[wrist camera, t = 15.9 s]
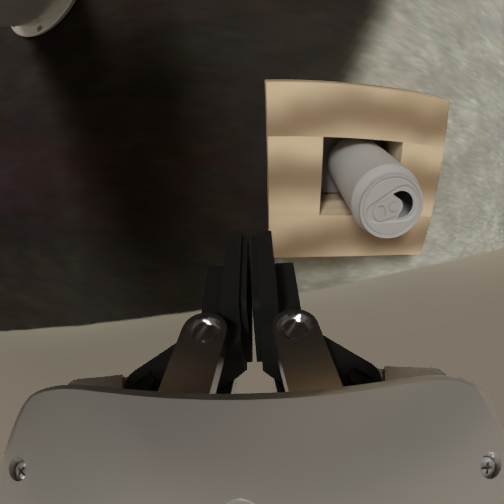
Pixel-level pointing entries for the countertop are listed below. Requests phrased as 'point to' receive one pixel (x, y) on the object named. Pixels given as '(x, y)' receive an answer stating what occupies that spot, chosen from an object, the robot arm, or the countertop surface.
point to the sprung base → (326, 180)
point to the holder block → (311, 154)
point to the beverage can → (375, 187)
